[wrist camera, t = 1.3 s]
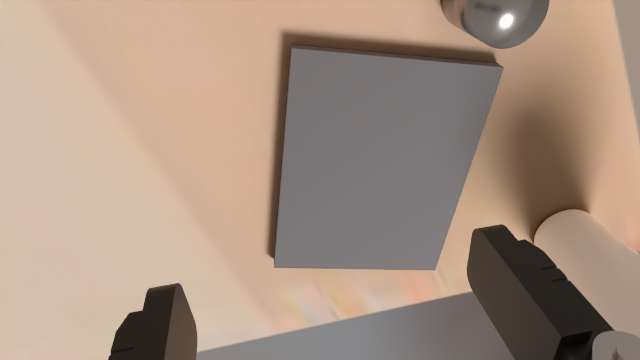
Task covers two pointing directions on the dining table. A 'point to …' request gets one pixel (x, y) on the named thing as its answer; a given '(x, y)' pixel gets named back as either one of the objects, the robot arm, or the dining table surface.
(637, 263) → the drinking glass
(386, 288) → the dining table surface
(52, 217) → the dining table surface
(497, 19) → the grey tin
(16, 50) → the dining table surface
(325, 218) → the charcoal mat
